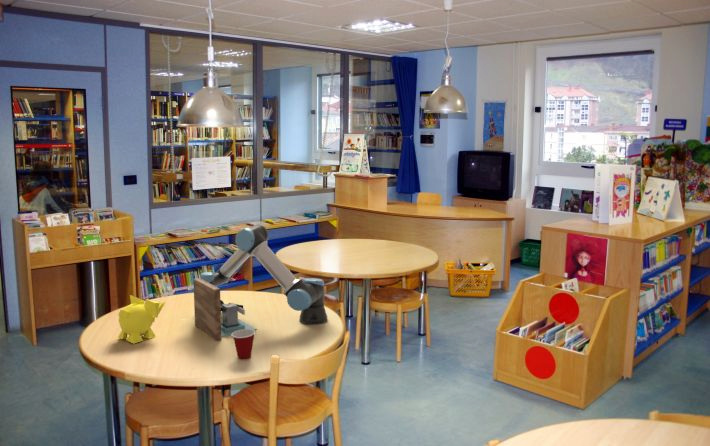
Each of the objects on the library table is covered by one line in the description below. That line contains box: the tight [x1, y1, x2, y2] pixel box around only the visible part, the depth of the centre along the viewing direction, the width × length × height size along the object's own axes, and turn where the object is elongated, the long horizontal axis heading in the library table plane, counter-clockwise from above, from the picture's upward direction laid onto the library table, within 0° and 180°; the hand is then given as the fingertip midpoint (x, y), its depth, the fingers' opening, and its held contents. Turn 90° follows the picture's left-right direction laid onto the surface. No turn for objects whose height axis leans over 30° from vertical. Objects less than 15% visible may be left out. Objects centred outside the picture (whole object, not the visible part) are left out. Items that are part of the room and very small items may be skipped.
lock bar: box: [221, 302, 239, 328], centre depth 320 cm, size 6×6×12 cm
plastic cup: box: [230, 329, 256, 360], centre depth 280 cm, size 11×11×12 cm
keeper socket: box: [221, 318, 257, 338], centre depth 321 cm, size 20×20×2 cm
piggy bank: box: [117, 294, 166, 345], centre depth 305 cm, size 20×20×19 cm
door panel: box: [192, 277, 223, 341], centre depth 311 cm, size 4×26×26 cm, turn 37°
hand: (232, 314), depth 317 cm, fingers open, 13 cm apart
